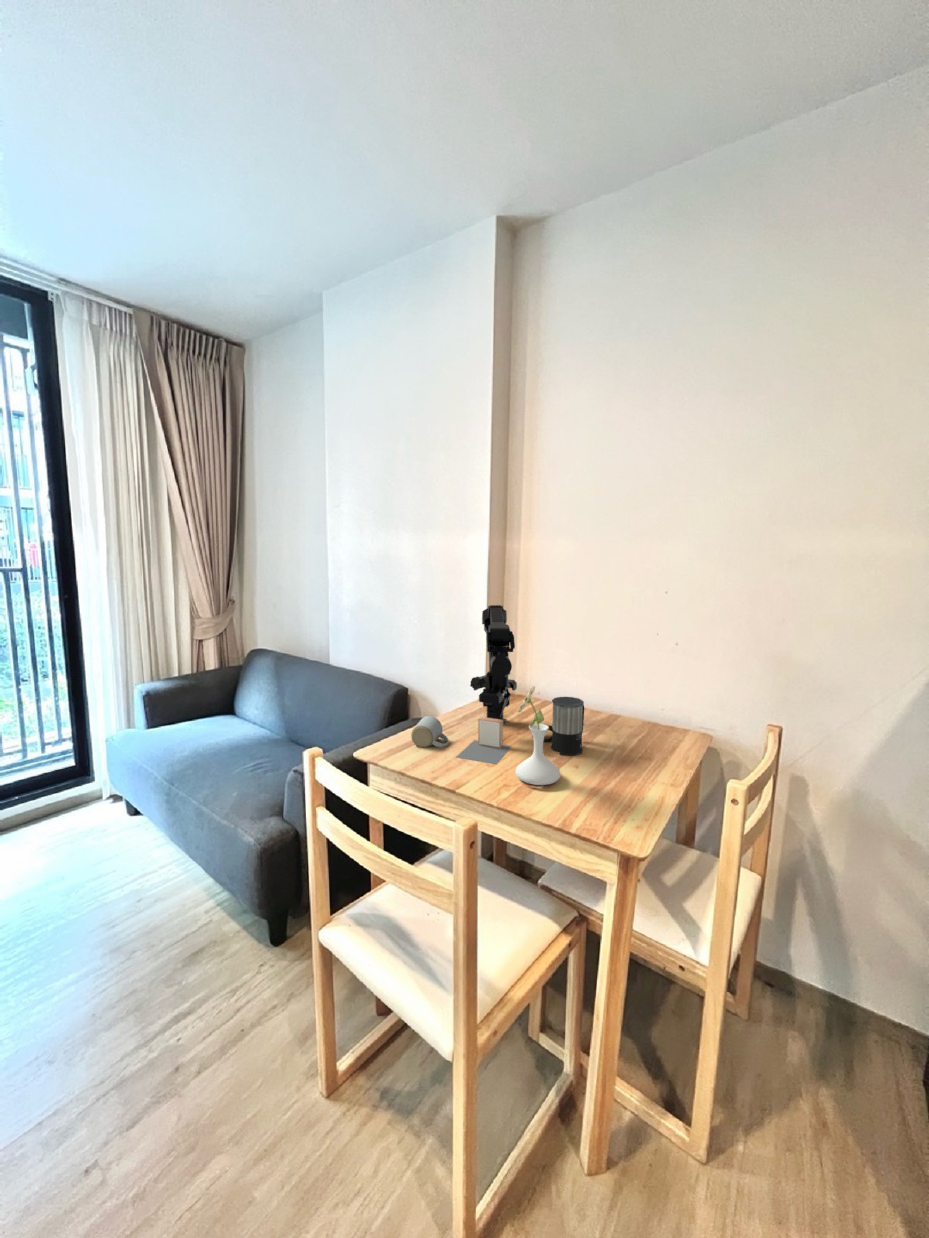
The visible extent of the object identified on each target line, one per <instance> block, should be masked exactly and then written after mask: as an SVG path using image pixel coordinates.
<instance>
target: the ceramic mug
mask: <svg viewBox="0 0 929 1238" xmlns="http://www.w3.org/2000/svg"><path fill="white" fill-rule="evenodd" d="M439 738H440V739H441V740H443V741H444V743H441V742H439V741H437V740H439ZM411 740H412V743H414V745H415V746H416V747H419V748H429V747H432V745H433V746H434V747H436V748H439V749H440V748H441V749H442V748H445V747H447V746H448V745H449V742H450V740H449V737H447V735H446V734H444V733H443V725H442V723H441V722H440V720H439V719H438V718H436V717H435V716H432V715H427V716H426V715H425V716H424V717H422V718H421V719H420V720H419V721H418V722H417V724H416V725H415V726H414V727H413V729H412V731H411Z"/></svg>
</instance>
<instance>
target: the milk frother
mask: <svg viewBox="0 0 929 1238" xmlns="http://www.w3.org/2000/svg"><path fill="white" fill-rule="evenodd" d="M551 702H552V725H547V726H548V727H549V729H548V730H547V731H550V732H551V733H552V734H551V736H549V737H547V738H545V737H544V740H543V743H551V746H550V749H551V750H552V751H553V752H557V753H558V754H559V755H561V756H577V755H580V754H582V752H583V750H584V749H583V748H584V747H583V731H584V719H585V717H584V716H585V705H584V704H585V702H584V700H583V699H581V698H578V697H573V696H557V697H554V698H553V699H551ZM531 735H532V737H533V734H532V733H531Z"/></svg>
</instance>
